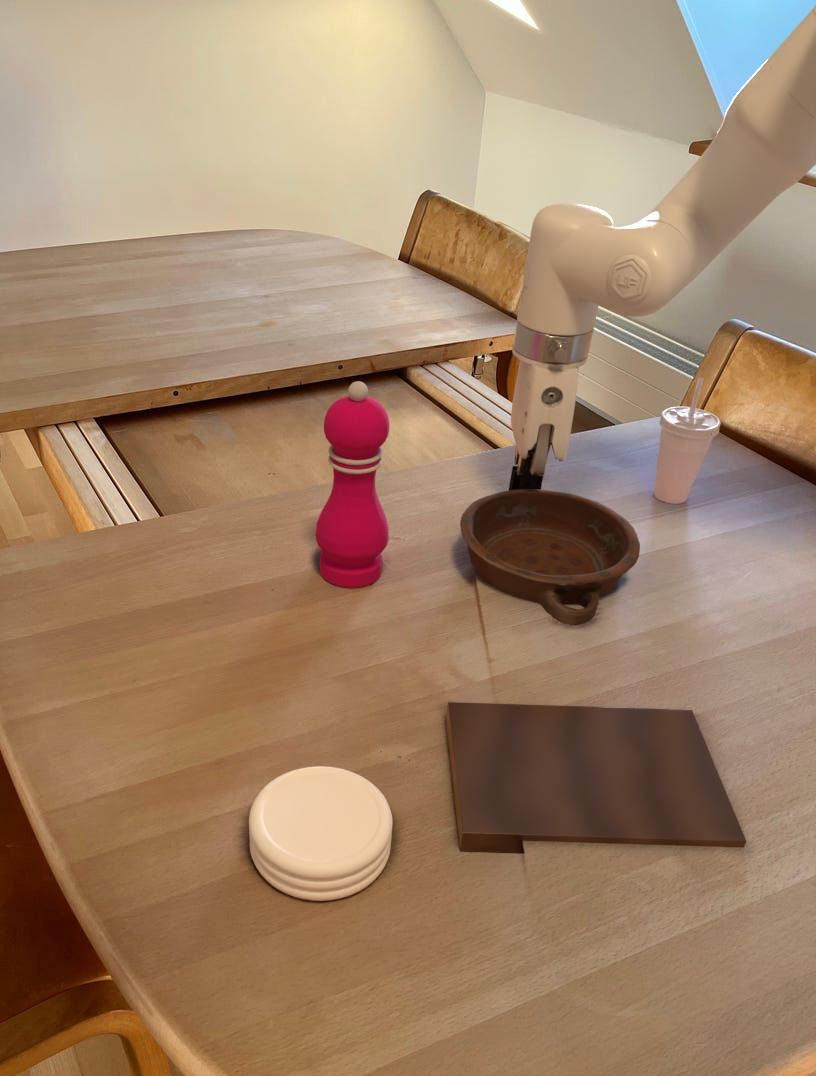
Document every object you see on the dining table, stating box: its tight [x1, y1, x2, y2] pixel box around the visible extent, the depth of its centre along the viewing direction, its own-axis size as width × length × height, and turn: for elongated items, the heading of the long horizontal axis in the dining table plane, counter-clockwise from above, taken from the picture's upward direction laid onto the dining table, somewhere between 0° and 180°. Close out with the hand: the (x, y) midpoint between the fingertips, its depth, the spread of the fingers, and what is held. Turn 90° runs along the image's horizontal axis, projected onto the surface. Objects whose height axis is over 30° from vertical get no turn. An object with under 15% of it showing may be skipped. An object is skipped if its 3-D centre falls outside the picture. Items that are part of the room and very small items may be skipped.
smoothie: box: [653, 377, 722, 505], centre depth 108 cm, size 6×6×14 cm
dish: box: [459, 489, 641, 626], centre depth 97 cm, size 18×22×5 cm
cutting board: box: [445, 701, 747, 854], centre depth 74 cm, size 20×14×2 cm
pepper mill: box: [314, 380, 390, 589], centre depth 92 cm, size 7×7×20 cm
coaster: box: [248, 765, 394, 902], centre depth 68 cm, size 10×10×4 cm
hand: (522, 501), depth 108 cm, fingers closed
